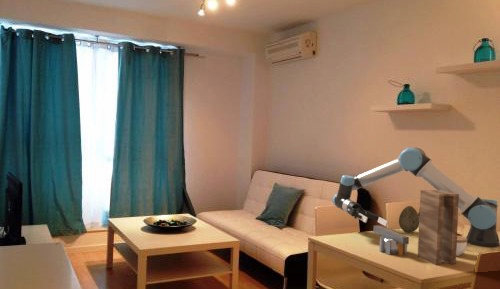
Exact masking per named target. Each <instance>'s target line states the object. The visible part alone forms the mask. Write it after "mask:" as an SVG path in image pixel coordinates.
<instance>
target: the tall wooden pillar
mask: <svg viewBox="0 0 500 289" xmlns="http://www.w3.org/2000/svg"><path fill="white" fill-rule="evenodd" d="M458 204H459V194H456V193H451V192H446V191H441V190H436V189H428V190H427V189H425V190H423V189H422V190H420V195H419V209H420V214H419V226H418V237H417V238H418V241H417V242H418V243H417V258H419V259H422V260H424V261H426V262H428V263H431V264H433V265H436V266H441V265H442V262H444V263H445V262H446V263H447V264H449V265H456V264H457V256H456V249H457V236H458V227H459V226H458V224H459V223H458V222H459V208H458Z"/></svg>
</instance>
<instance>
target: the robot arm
mask: <svg viewBox="0 0 500 289" xmlns="http://www.w3.org/2000/svg"><path fill="white" fill-rule="evenodd" d="M401 172H410V173H411V174H412V175H413V176H415V177H417V178H418V177H419V178H422V179H423V180H424V181H425V182H427V183H428V184H429V185H430V186H431V187H433V188H434V190H441V191H446V192H451V193H456V194H459V204H458V209H459V210H460V214H461V215H462V216H463V217H464V218H465V219H467V220H468V222H469V223H470V226H469V229H468V231H467V235H466V236H465V238H467V244H470V245H474V246H478V247H485V248H498V247H500V239H499V234H498V232H497V231H498V230H497V221H498V220H497V219H498V207H499V206H498V200H495V199H486V198H481V197H479V196H477V195H476V196H475V195H474V196H473V195H472V194H470V193H469V192H468V191H467V190H465V189H464V188H463V187H461V185H459V184H458V183H457V182H455V181H454V179H451V178H450V177H449V176H448V175H447V174H445V172H442V171H441V170H440V169H439V168H437V167H436V166H435V165H434V164H433V161H432V159H431V158H430V157H428V155H427V153H426V152H425V151H424V150H423V149H421V148H419V147H407V148H405V149H403V150H402V151H401V152H400V154H399V155H398V156H397V158H395V159H392V160H391V161H388V162H385V163H383V164H381V165H378V166H376V167H374V168H371V169H369V170H367V171H364V172H362V173H360V174H357V175H355V176H351V175H349V174H343V175H342V176H341V179H340V182H339V185H338V186H339V187H338V191H337V193H336V194H334V195H333V197H332V204H333V206H335V207H336V208H338V209H340V210H342V211H343V212H345V214H349V215H350V216H351V217H353V219H356V220H357V219H358V220H360V221H362V222H363V223H365V224H366V223H367V222H368V219H371V220H373V221H376V222H377V223H379V224H380V225H381V226H383V227H385V228H386V227H387V228H388V224H389V221H388V220H386V219H384V217H383V216H382V215H378V214H375V213H373V212H371V211H369V210H365V209H363V207H362V205H361V204H360V203H358V202H356V201H355V200H352V199H351V196H352V193H353V192H354V191H357V190H359V189H361V188H364V187H365V186H366V187H367V186H368V185H370V184H371V185H372V184H373V183H376V182H379V181H380V180H383V179H386V178H389V177H391V176H394V175H396V174H398V173H399V174H400V173H401Z"/></svg>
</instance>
